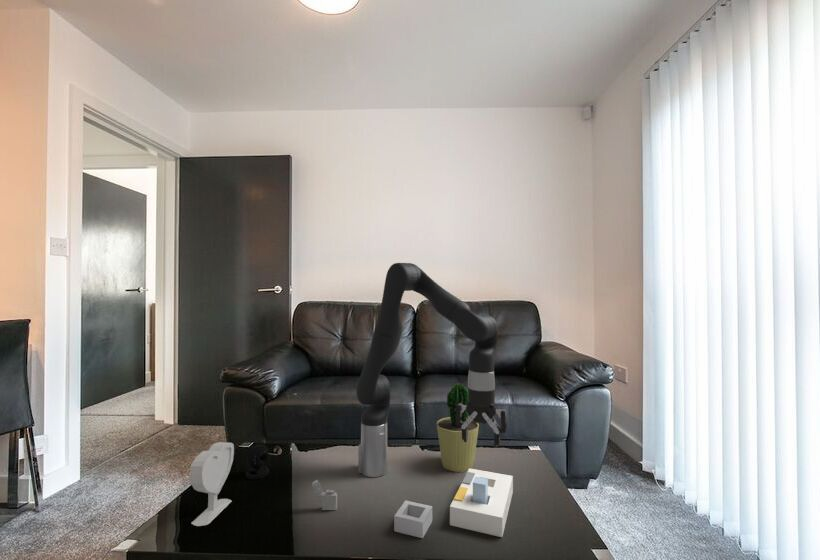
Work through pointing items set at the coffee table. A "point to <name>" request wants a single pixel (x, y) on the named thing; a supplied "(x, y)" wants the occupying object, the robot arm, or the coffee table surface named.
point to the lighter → (326, 497)
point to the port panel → (479, 514)
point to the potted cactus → (457, 434)
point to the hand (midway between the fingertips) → (480, 443)
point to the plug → (480, 490)
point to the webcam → (257, 462)
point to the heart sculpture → (212, 478)
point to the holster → (413, 519)
